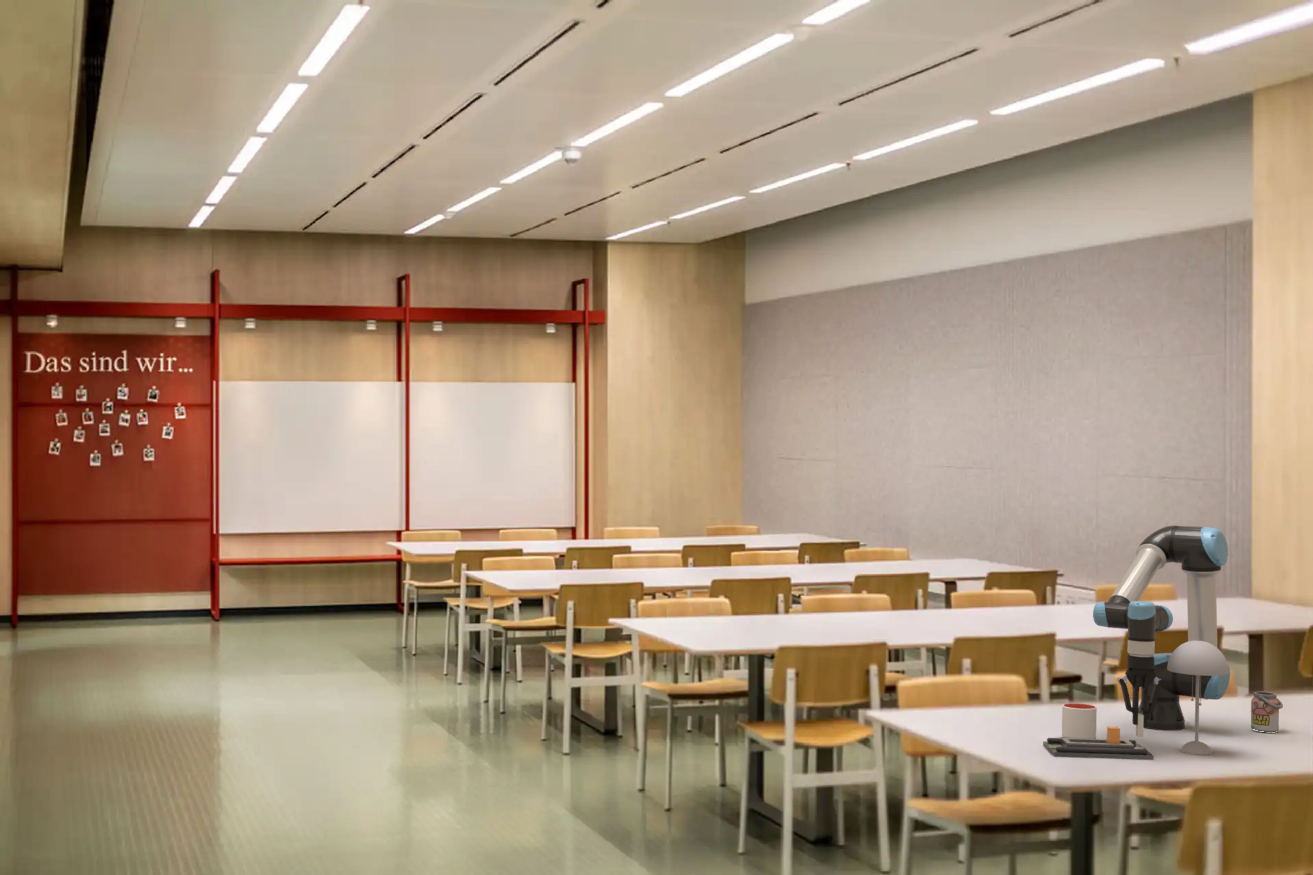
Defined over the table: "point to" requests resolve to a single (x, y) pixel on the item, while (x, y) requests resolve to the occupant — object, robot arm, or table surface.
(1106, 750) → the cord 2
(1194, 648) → the lamp
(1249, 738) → the table surface
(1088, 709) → the cup
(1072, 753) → the panel
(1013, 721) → the table surface
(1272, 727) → the paint can
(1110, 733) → the toggle
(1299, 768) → the table surface
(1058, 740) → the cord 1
